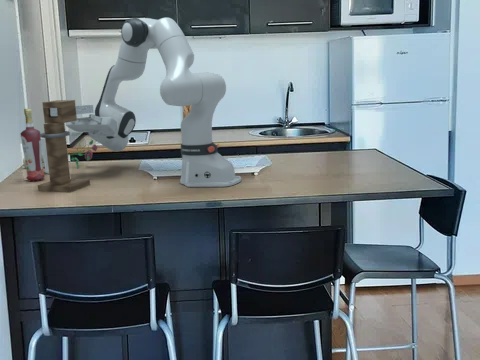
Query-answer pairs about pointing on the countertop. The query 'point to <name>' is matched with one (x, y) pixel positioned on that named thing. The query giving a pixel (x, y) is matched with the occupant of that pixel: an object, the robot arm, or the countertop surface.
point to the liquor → (32, 149)
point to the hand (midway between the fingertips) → (80, 116)
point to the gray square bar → (79, 110)
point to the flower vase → (88, 154)
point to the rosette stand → (59, 147)
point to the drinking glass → (44, 154)
